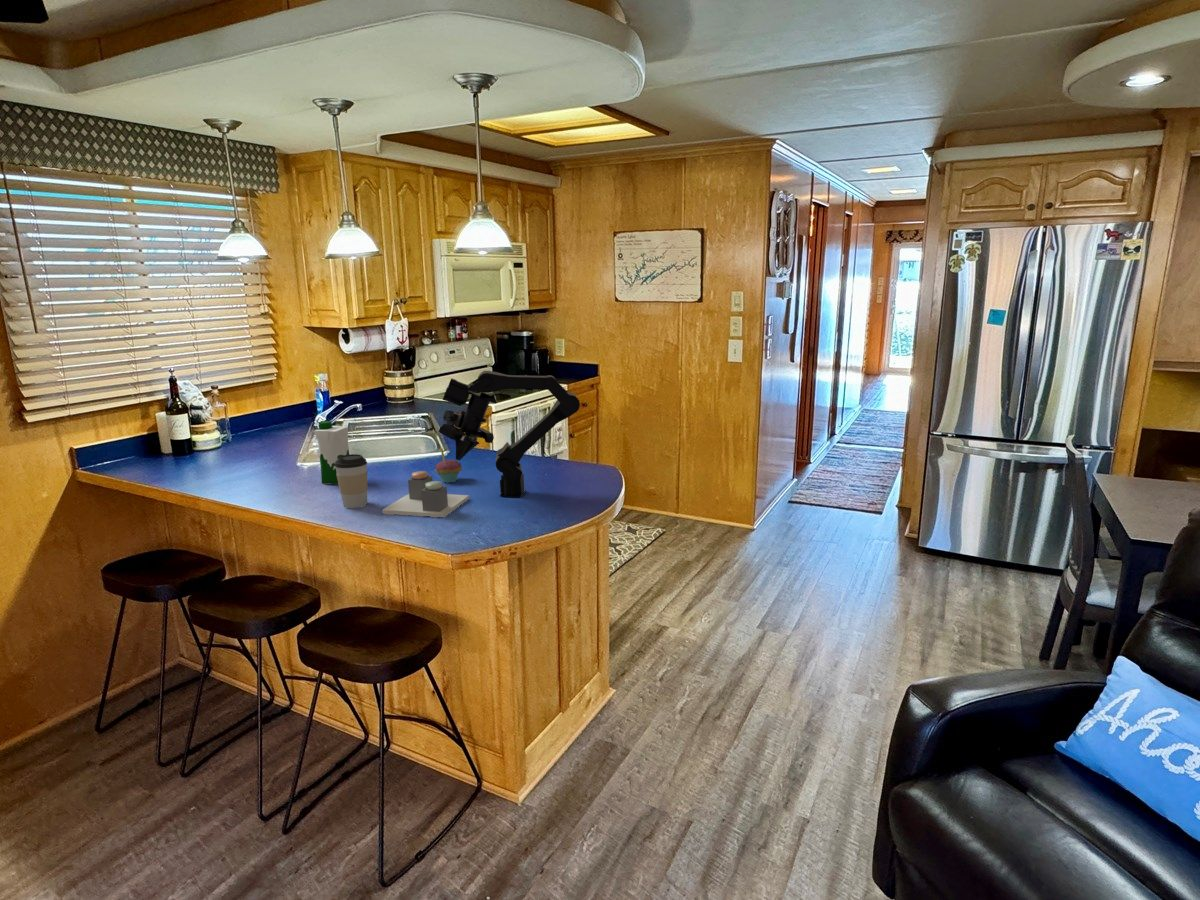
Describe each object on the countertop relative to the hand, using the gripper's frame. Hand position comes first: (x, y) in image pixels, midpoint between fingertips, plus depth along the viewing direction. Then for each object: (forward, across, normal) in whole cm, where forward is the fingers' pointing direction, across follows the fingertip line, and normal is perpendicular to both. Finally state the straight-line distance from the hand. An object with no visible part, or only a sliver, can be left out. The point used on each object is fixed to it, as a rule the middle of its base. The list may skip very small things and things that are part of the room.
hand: (457, 459), depth 207 cm
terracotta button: (+14, +5, -4) cm, 15 cm away
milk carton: (+27, +2, -42) cm, 50 cm away
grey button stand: (+15, +7, +1) cm, 16 cm away
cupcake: (+13, -15, -12) cm, 23 cm away
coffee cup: (+23, +16, -17) cm, 33 cm away
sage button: (+12, +11, +7) cm, 17 cm away
